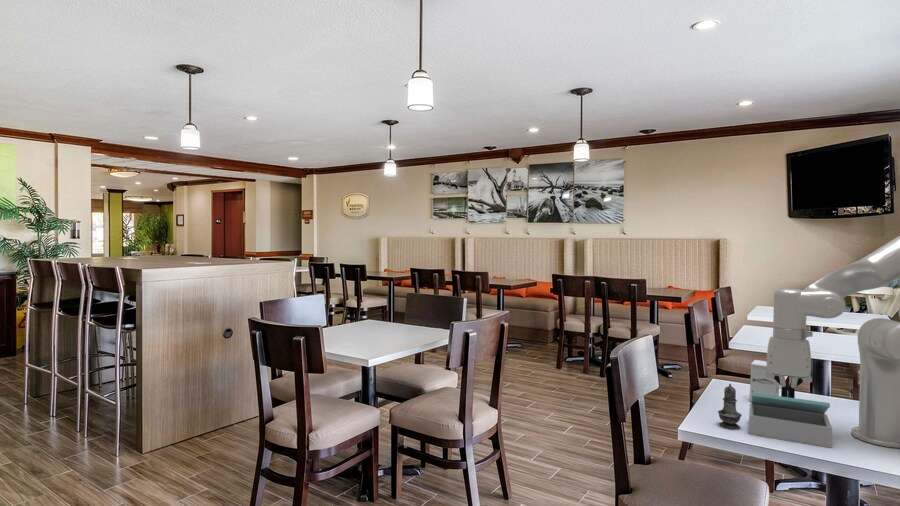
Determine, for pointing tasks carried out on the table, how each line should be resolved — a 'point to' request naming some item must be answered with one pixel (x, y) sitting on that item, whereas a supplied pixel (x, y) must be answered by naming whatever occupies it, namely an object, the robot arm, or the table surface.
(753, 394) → the cover
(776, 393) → the supplement box
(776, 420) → the hinged gray case
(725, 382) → the table surface
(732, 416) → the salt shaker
